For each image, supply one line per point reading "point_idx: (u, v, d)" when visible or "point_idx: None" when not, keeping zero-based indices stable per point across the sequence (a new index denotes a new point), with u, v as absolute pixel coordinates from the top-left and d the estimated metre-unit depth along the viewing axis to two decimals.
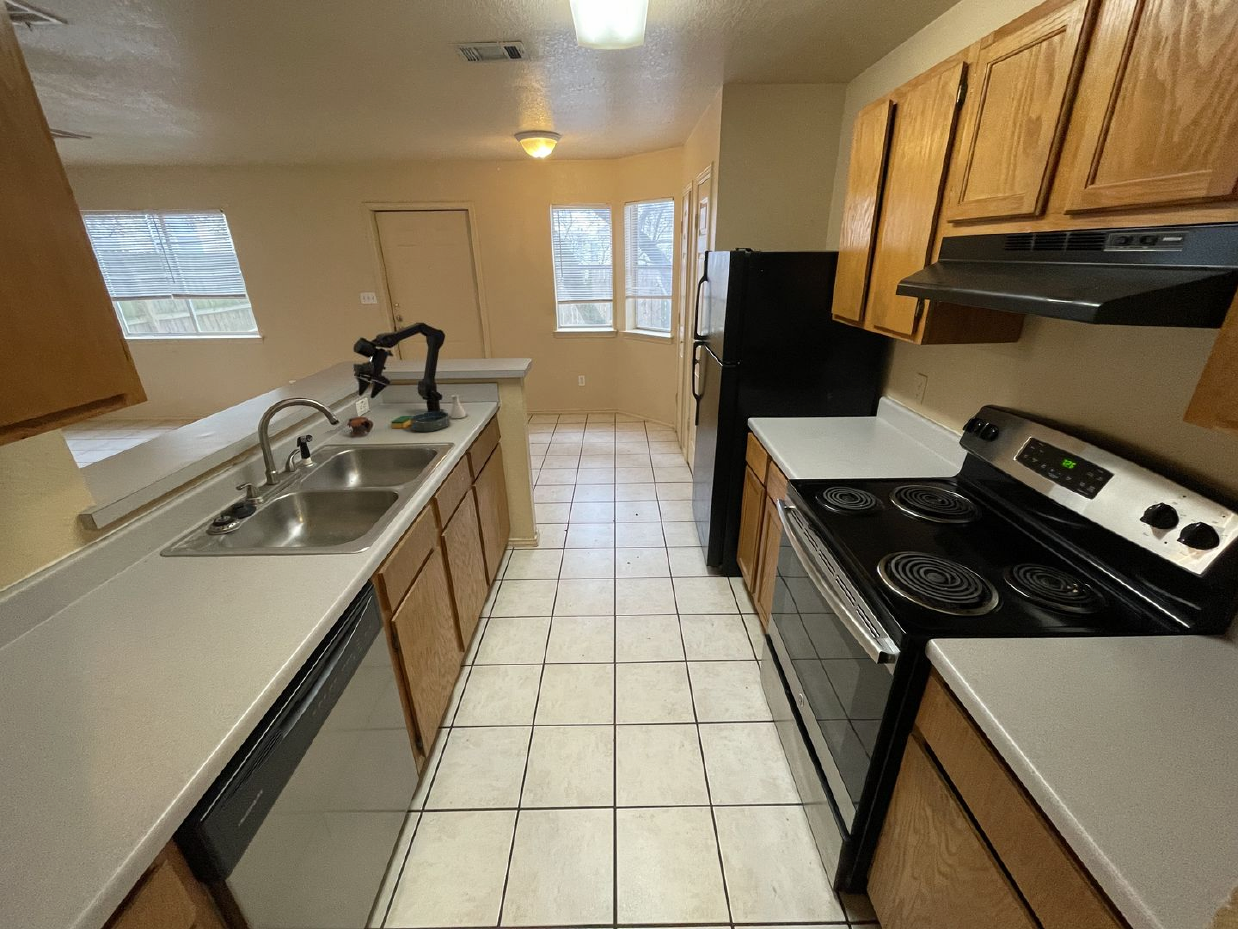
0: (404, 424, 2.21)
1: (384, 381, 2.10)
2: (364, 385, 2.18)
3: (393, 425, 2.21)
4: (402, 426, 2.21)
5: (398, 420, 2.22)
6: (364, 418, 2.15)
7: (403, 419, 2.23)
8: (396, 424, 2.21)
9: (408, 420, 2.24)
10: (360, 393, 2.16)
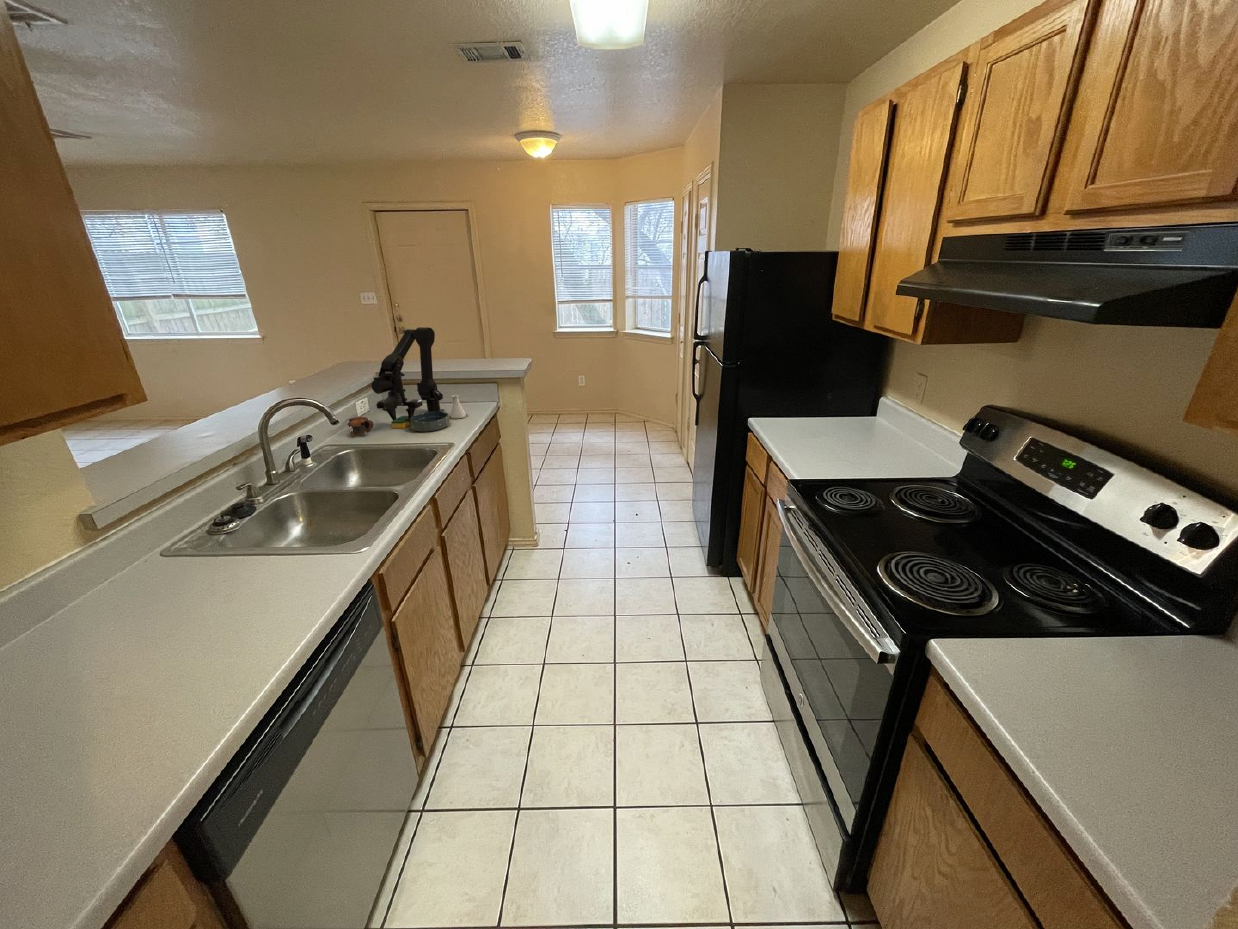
0: (404, 424, 2.21)
1: (419, 405, 2.21)
2: (393, 412, 2.24)
3: (393, 425, 2.21)
4: (402, 426, 2.21)
5: (398, 420, 2.22)
6: (364, 418, 2.15)
7: (403, 419, 2.23)
8: (396, 424, 2.21)
9: (408, 420, 2.24)
10: None
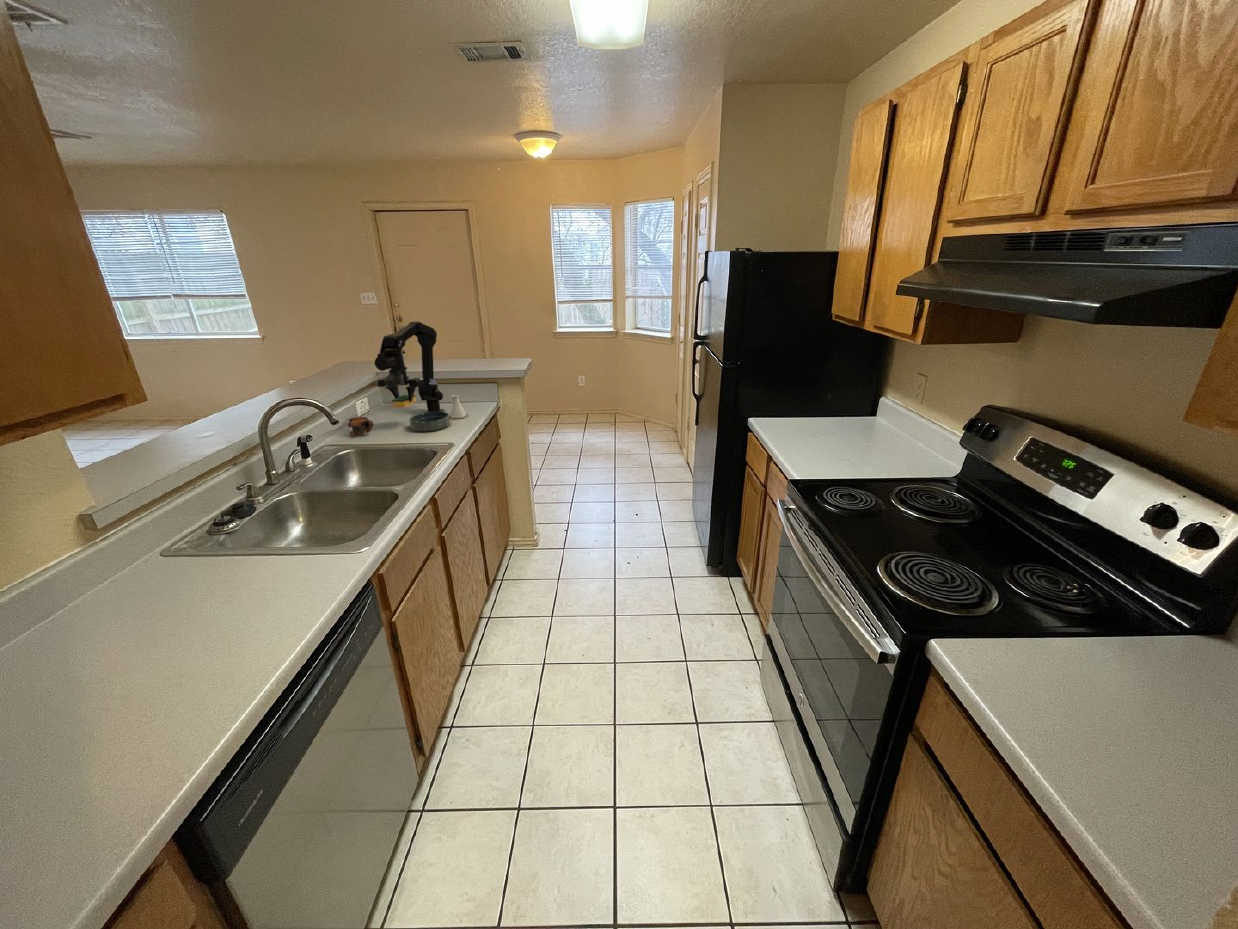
0: (405, 403, 2.16)
1: (421, 383, 2.16)
2: (395, 390, 2.19)
3: (394, 404, 2.16)
4: (403, 405, 2.16)
5: (399, 399, 2.17)
6: (364, 418, 2.15)
7: (404, 398, 2.18)
8: (397, 402, 2.16)
9: None
10: None
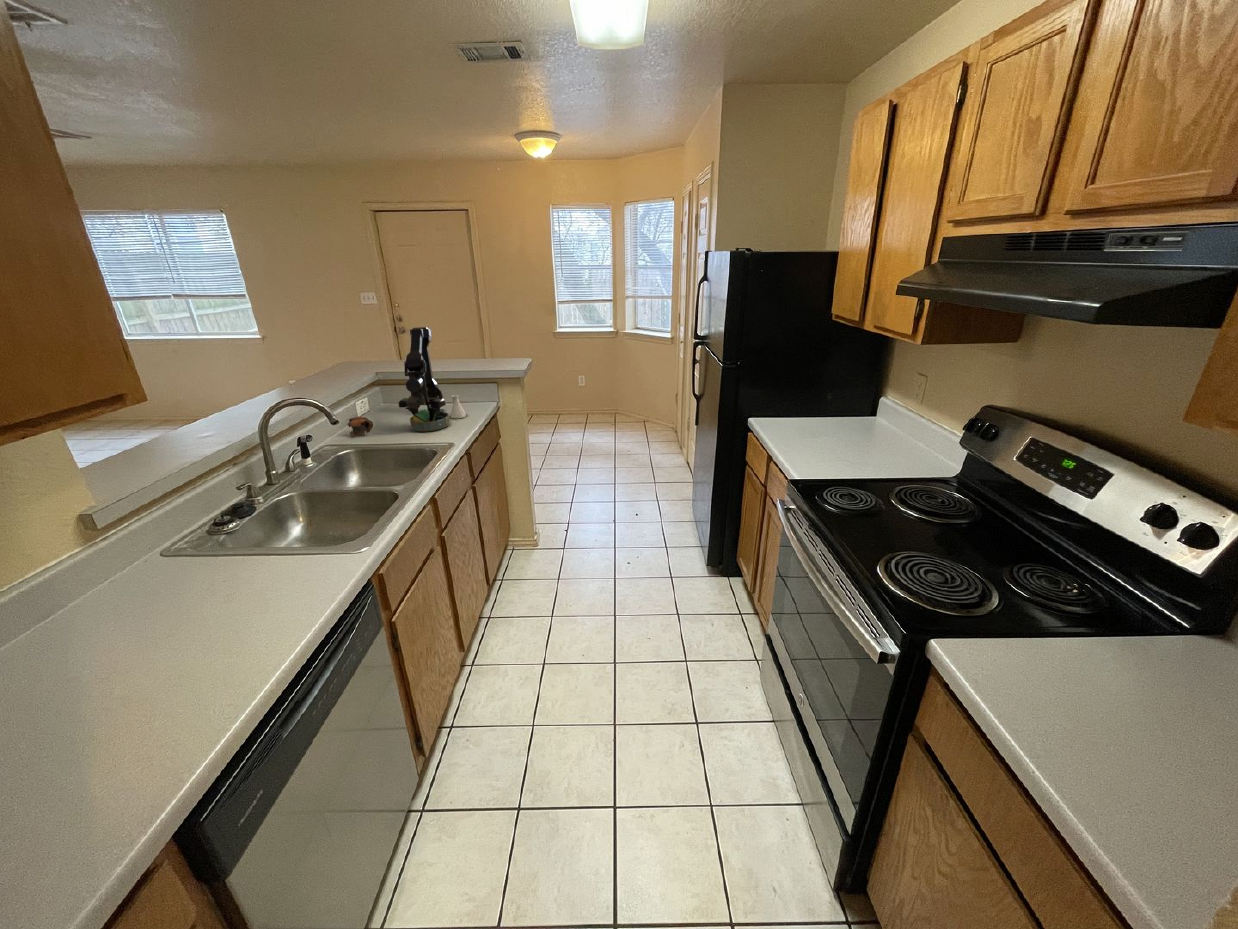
0: None
1: (442, 404, 2.17)
2: (416, 411, 2.20)
3: (414, 418, 2.16)
4: None
5: (421, 416, 2.17)
6: (364, 418, 2.15)
7: (426, 417, 2.19)
8: (418, 419, 2.16)
9: None
10: None
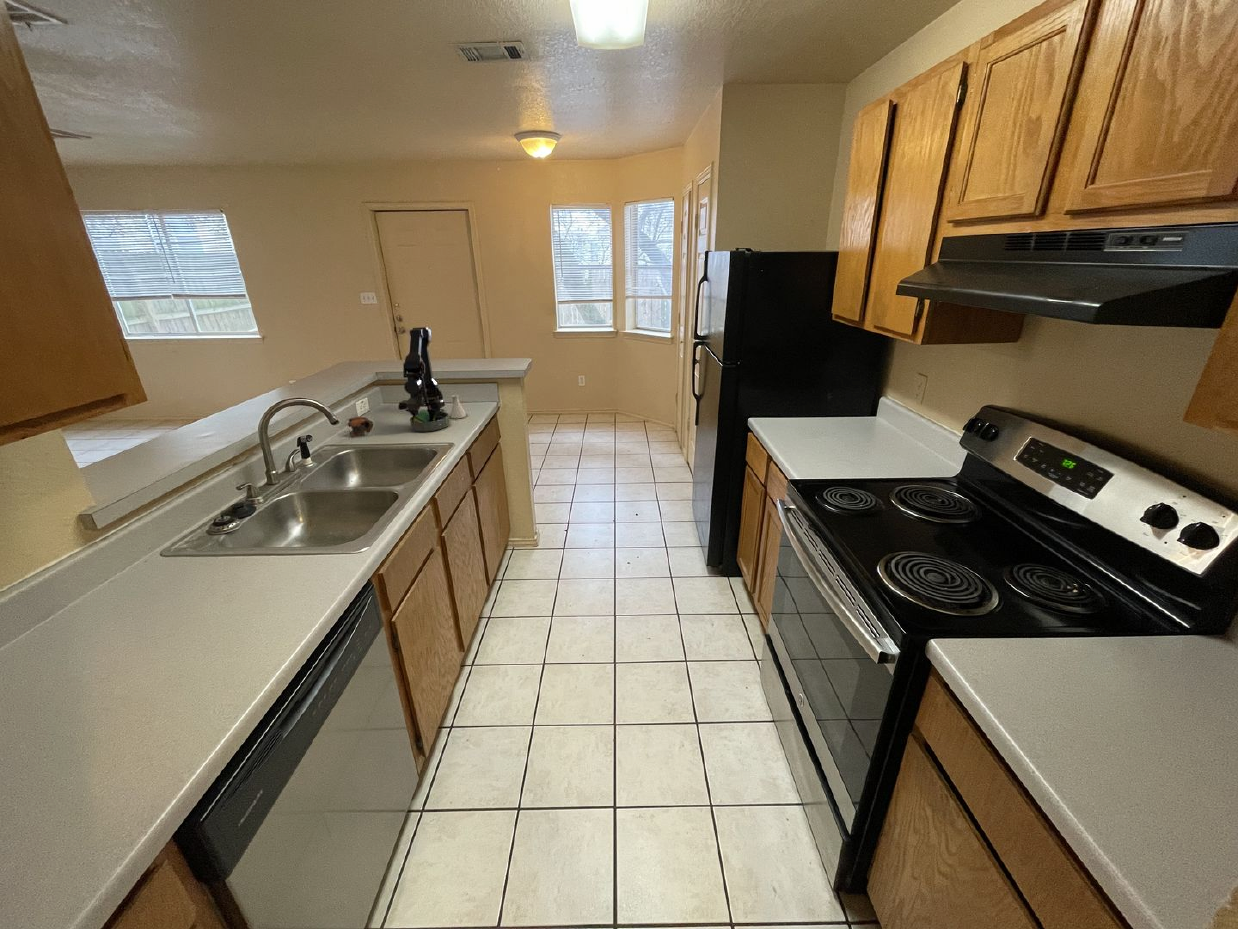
0: None
1: (442, 405, 2.18)
2: (416, 412, 2.21)
3: (414, 420, 2.17)
4: None
5: (421, 417, 2.18)
6: (364, 418, 2.15)
7: (426, 418, 2.19)
8: (418, 420, 2.16)
9: None
10: None
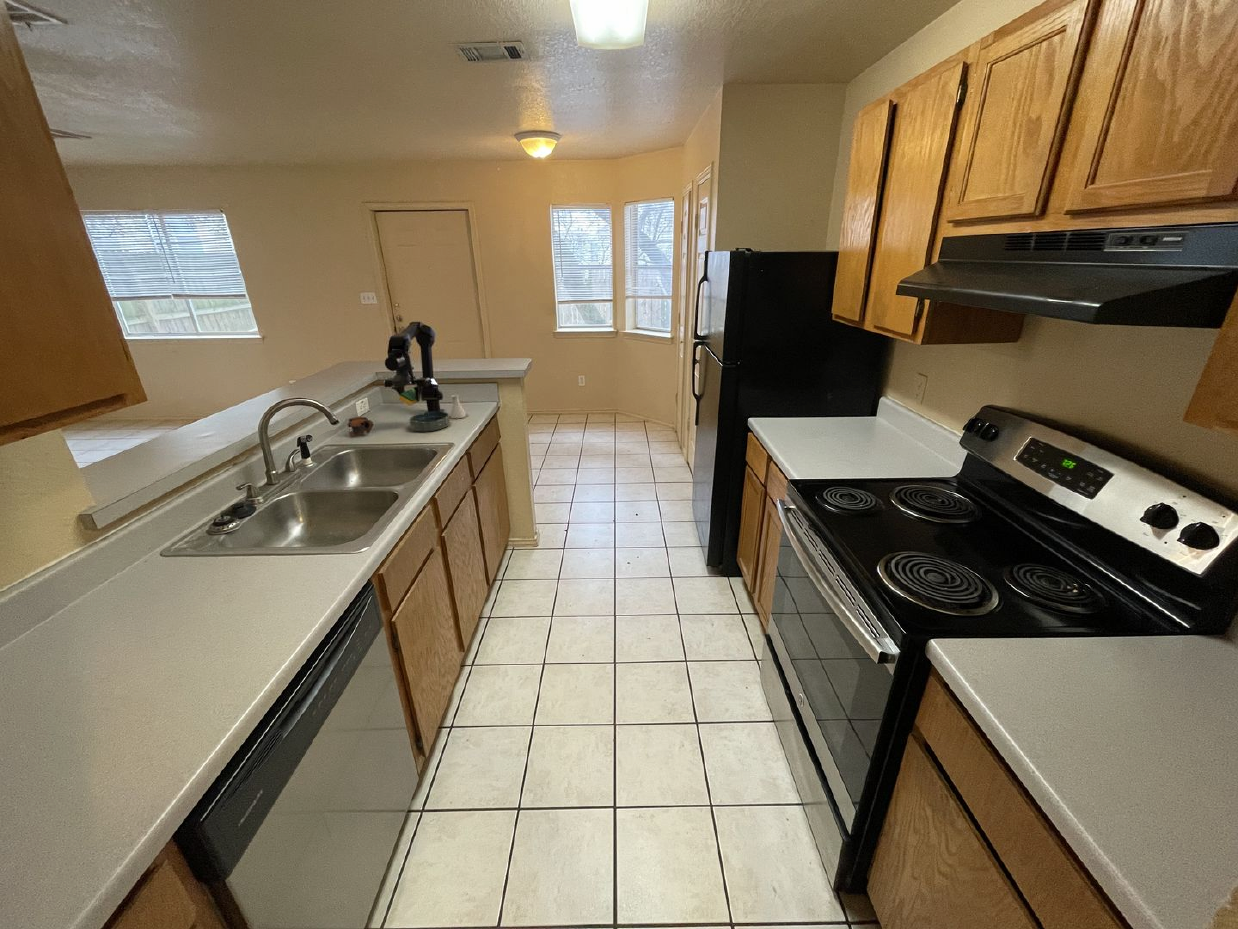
0: (412, 402, 2.16)
1: (428, 383, 2.16)
2: (402, 390, 2.19)
3: (400, 398, 2.15)
4: (409, 403, 2.15)
5: (407, 395, 2.16)
6: (364, 418, 2.15)
7: (412, 396, 2.17)
8: (404, 398, 2.14)
9: (416, 399, 2.19)
10: None
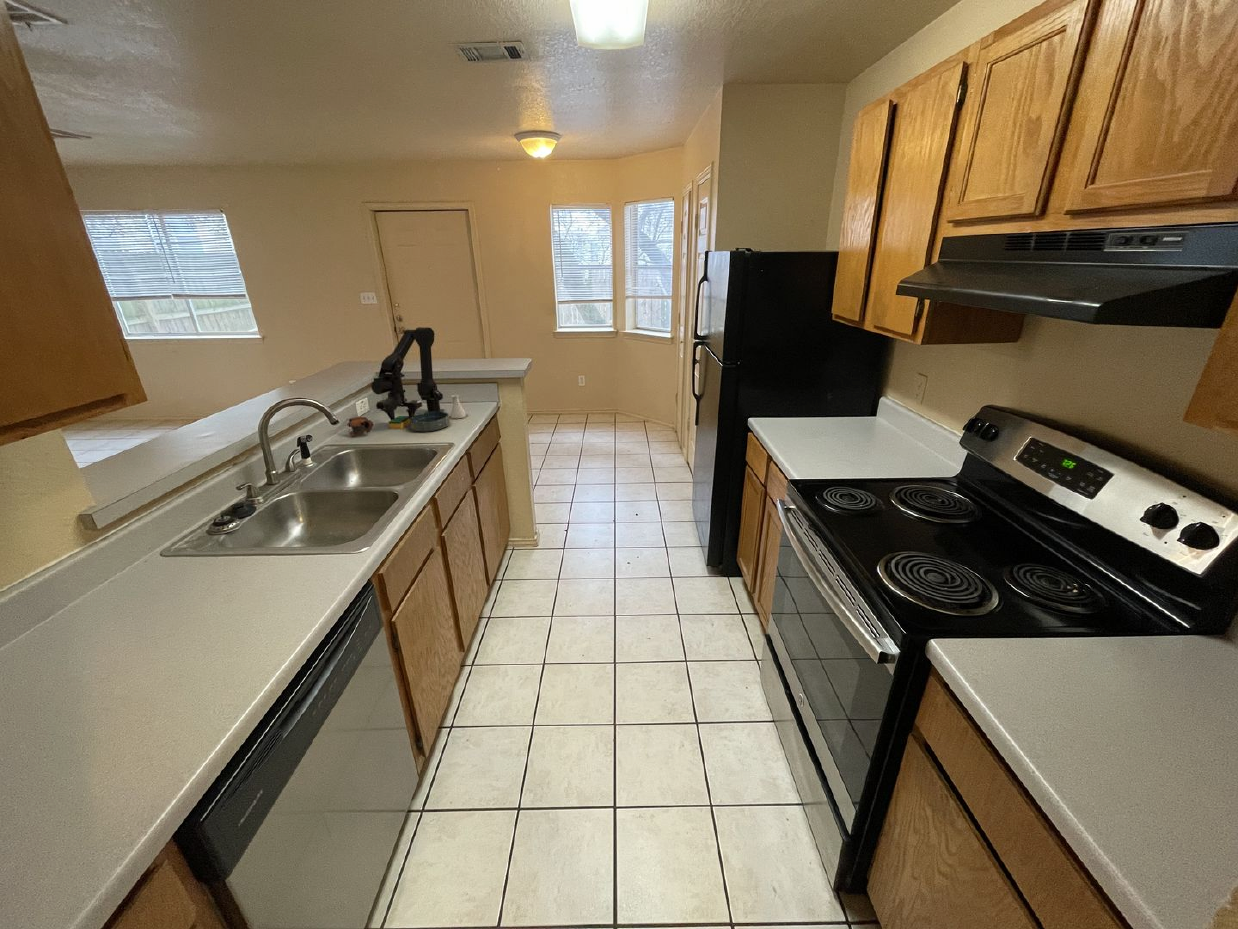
0: (401, 424, 2.21)
1: (419, 406, 2.21)
2: (391, 412, 2.24)
3: (390, 425, 2.21)
4: (399, 426, 2.21)
5: (395, 420, 2.22)
6: (364, 418, 2.15)
7: (400, 419, 2.23)
8: (393, 424, 2.21)
9: (405, 420, 2.24)
10: None
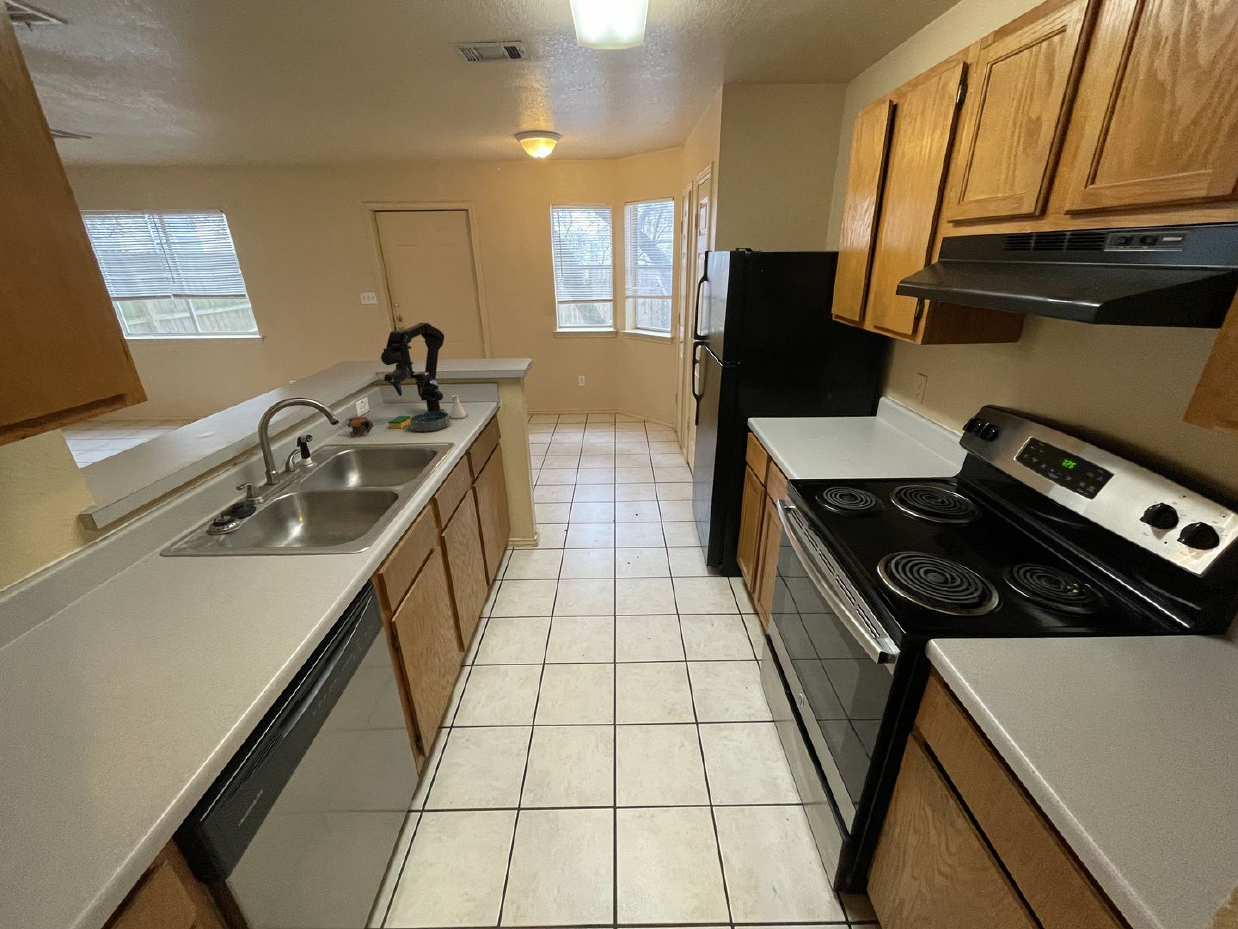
0: (401, 424, 2.21)
1: (427, 377, 2.21)
2: (398, 385, 2.24)
3: (390, 425, 2.21)
4: (399, 426, 2.21)
5: (395, 420, 2.22)
6: (364, 418, 2.15)
7: (400, 419, 2.23)
8: (393, 424, 2.20)
9: (405, 420, 2.24)
10: (400, 394, 2.25)
